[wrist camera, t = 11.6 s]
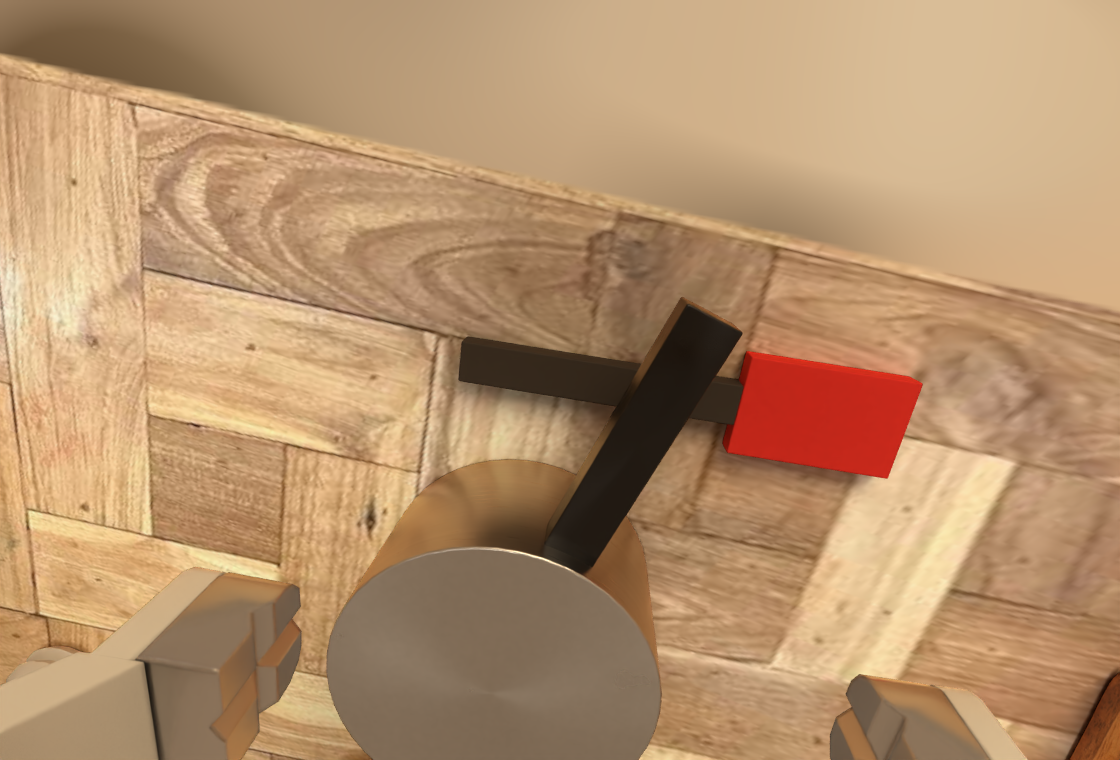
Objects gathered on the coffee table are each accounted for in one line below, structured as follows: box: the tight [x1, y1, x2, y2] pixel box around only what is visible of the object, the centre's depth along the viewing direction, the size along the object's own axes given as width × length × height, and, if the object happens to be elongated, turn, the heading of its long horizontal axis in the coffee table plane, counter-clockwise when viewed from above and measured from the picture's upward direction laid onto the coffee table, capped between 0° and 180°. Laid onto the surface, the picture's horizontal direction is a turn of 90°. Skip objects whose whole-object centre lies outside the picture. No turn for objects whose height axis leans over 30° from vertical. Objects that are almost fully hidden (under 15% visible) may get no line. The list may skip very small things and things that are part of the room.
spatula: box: [459, 337, 923, 479], centre depth 23 cm, size 4×19×1 cm, turn 82°
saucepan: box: [327, 297, 742, 760], centre depth 23 cm, size 23×13×7 cm, turn 153°
